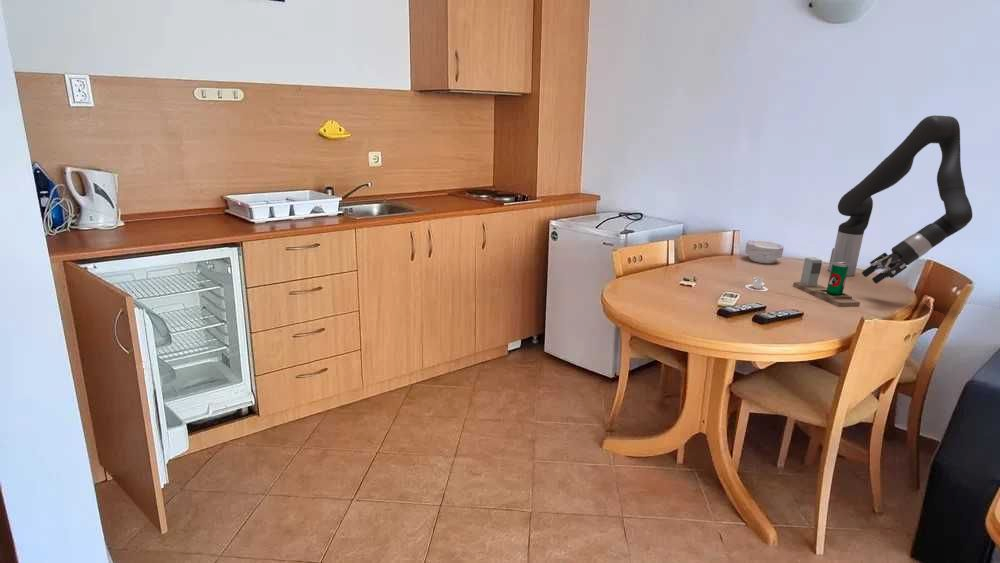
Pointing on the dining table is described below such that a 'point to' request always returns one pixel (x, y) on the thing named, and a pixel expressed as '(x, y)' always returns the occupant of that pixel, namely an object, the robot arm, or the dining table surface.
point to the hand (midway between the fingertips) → (868, 278)
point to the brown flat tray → (821, 293)
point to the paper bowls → (763, 251)
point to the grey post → (811, 271)
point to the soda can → (837, 278)
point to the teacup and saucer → (757, 284)
